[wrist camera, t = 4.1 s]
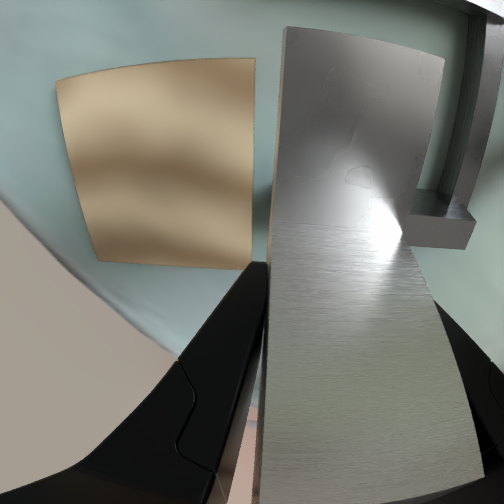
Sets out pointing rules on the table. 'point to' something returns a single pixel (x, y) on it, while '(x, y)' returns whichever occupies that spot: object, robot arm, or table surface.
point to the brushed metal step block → (354, 288)
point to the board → (165, 160)
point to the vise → (463, 134)
